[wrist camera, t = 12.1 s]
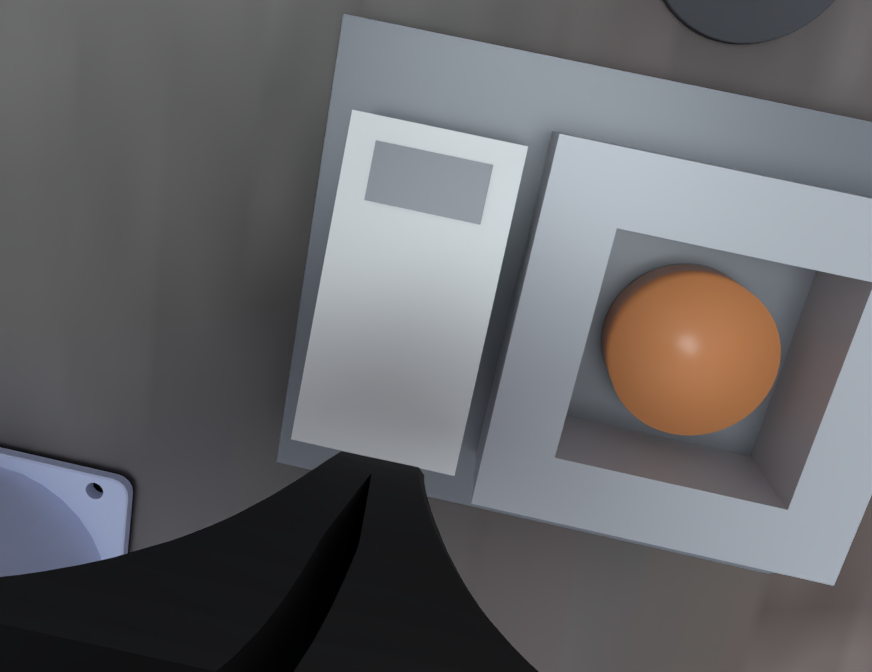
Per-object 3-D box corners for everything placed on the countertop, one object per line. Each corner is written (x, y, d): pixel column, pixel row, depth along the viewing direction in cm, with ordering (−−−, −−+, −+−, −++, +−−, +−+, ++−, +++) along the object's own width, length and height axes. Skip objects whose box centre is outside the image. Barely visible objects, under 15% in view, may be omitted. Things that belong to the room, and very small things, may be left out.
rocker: (304, 424, 17) (290, 440, 16) (361, 117, 16) (351, 108, 15) (456, 458, 17) (454, 477, 16) (525, 151, 16) (528, 145, 15)
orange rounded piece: (584, 393, 18) (590, 416, 17) (624, 248, 17) (634, 260, 16) (732, 426, 18) (750, 451, 17) (781, 282, 17) (804, 297, 16)
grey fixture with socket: (297, 431, 22) (242, 512, 17) (360, 24, 18) (313, -4, 14) (748, 533, 21) (810, 642, 17) (894, 133, 18) (1019, 139, 14)
